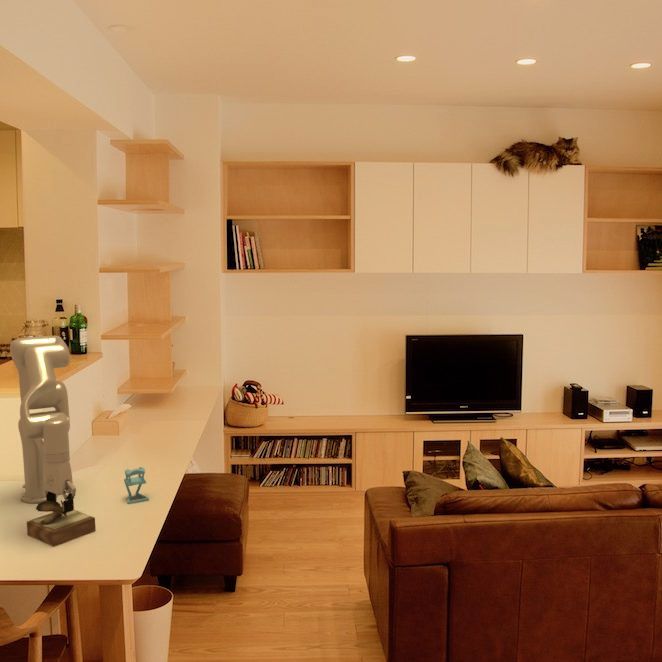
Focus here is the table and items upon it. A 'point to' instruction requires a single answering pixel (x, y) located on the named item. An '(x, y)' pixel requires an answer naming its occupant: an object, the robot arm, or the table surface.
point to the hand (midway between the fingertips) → (60, 508)
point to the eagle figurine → (53, 507)
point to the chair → (135, 483)
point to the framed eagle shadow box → (61, 528)
